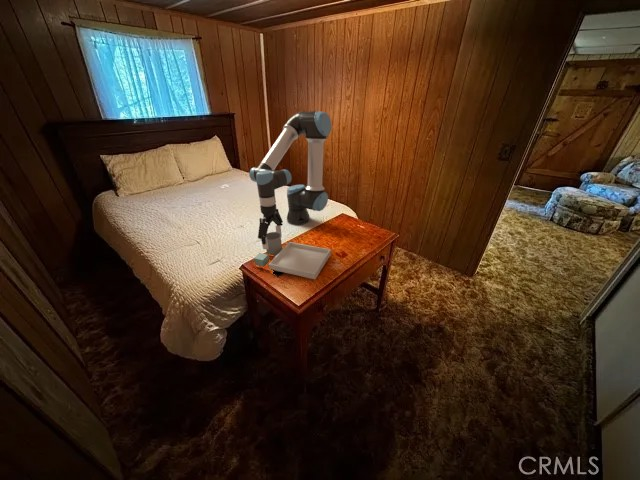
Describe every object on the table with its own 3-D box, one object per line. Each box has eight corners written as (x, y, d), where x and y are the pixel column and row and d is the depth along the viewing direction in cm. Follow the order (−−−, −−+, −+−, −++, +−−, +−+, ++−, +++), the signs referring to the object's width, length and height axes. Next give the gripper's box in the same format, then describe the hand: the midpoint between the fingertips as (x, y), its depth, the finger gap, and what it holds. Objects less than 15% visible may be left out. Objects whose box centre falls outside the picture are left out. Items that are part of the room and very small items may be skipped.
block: (261, 261, 128) (259, 252, 126) (269, 262, 127) (268, 254, 124) (255, 266, 124) (253, 258, 122) (264, 268, 123) (262, 260, 120)
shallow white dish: (290, 248, 138) (289, 241, 136) (331, 256, 130) (331, 249, 128) (269, 271, 120) (268, 264, 118) (315, 282, 113) (314, 274, 111)
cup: (279, 257, 131) (277, 240, 126) (264, 255, 132) (261, 239, 127) (284, 248, 138) (282, 232, 133) (270, 247, 139) (267, 231, 134)
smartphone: (258, 266, 125) (278, 278, 116) (257, 264, 125) (277, 276, 116) (269, 259, 130) (289, 270, 121) (269, 258, 130) (289, 269, 121)
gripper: (274, 195, 133) (278, 231, 143) (245, 212, 112) (252, 253, 123) (287, 196, 130) (290, 233, 141) (260, 215, 110) (266, 256, 120)
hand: (272, 242), depth 132 cm, fingers open, 13 cm apart
